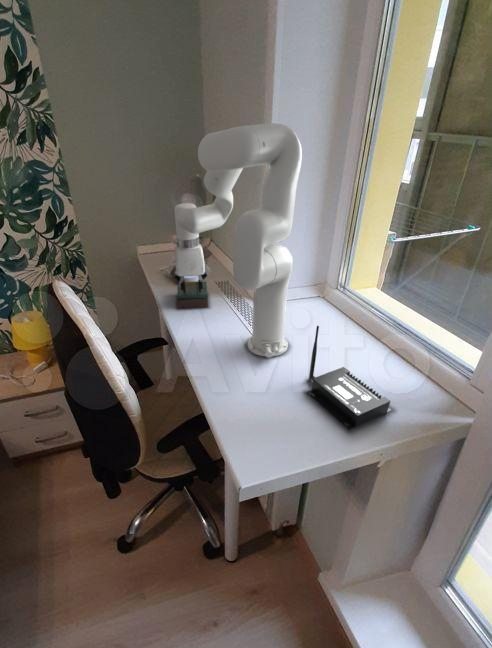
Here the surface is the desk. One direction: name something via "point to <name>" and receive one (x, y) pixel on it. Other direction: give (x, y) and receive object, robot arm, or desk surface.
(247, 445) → the desk surface
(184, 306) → the drawer box
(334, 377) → the wireless controller
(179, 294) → the panel with handle
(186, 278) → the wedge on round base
